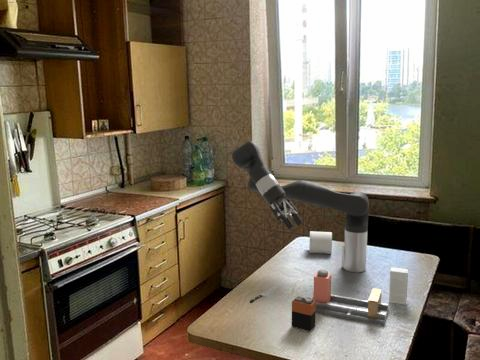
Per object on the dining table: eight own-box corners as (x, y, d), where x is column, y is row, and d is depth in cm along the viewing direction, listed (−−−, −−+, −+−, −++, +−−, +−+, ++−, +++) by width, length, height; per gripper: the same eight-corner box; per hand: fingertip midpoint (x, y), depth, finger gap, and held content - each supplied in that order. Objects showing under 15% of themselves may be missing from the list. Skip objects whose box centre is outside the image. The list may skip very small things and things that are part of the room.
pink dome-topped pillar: (313, 303, 164) (313, 273, 161) (316, 297, 168) (317, 268, 166) (327, 305, 162) (328, 275, 159) (330, 300, 166) (331, 270, 164)
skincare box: (406, 299, 169) (408, 268, 167) (406, 305, 165) (408, 273, 163) (388, 297, 171) (390, 266, 169) (388, 302, 167) (390, 271, 165)
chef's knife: (283, 287, 182) (276, 285, 184) (283, 285, 182) (277, 282, 183) (255, 305, 167) (248, 303, 168) (255, 302, 166) (249, 300, 168)
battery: (310, 332, 147) (311, 302, 145) (290, 327, 151) (291, 298, 149) (315, 326, 151) (316, 297, 149) (296, 321, 154) (296, 293, 152)
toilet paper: (309, 255, 215) (309, 235, 213) (309, 248, 225) (310, 228, 223) (331, 256, 213) (332, 236, 212) (330, 249, 223) (331, 229, 221)
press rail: (306, 311, 161) (306, 290, 160) (315, 297, 172) (315, 278, 171) (384, 325, 151) (385, 304, 150) (388, 309, 162) (389, 289, 160)
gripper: (271, 194, 177) (296, 229, 173) (254, 197, 165) (280, 235, 161) (285, 182, 174) (311, 217, 170) (269, 184, 162) (296, 222, 157)
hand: (296, 226), depth 165 cm, fingers open, 8 cm apart
